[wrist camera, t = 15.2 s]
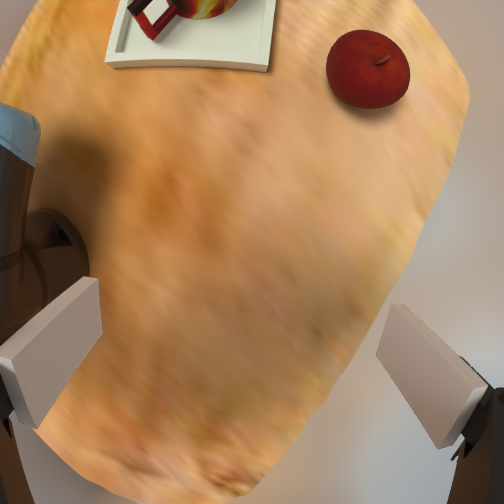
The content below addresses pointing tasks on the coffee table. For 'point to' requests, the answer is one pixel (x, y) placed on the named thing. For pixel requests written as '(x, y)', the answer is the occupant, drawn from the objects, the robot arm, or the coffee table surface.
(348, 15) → the coffee table surface
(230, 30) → the tray
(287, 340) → the coffee table surface
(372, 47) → the apple
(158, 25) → the mug
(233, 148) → the coffee table surface
